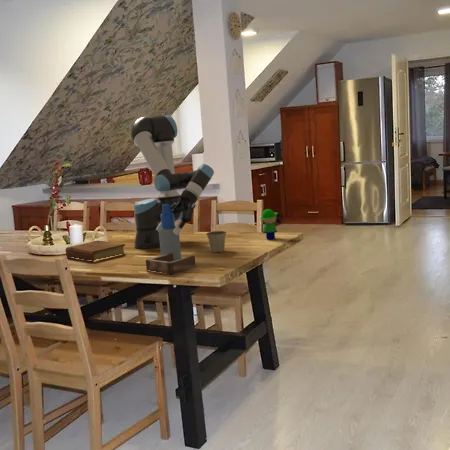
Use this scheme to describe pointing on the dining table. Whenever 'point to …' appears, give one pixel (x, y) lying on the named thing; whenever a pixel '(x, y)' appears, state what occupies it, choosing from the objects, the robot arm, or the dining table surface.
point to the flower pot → (216, 240)
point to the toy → (270, 223)
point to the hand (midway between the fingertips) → (166, 232)
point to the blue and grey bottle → (169, 234)
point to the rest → (170, 264)
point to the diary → (95, 250)
